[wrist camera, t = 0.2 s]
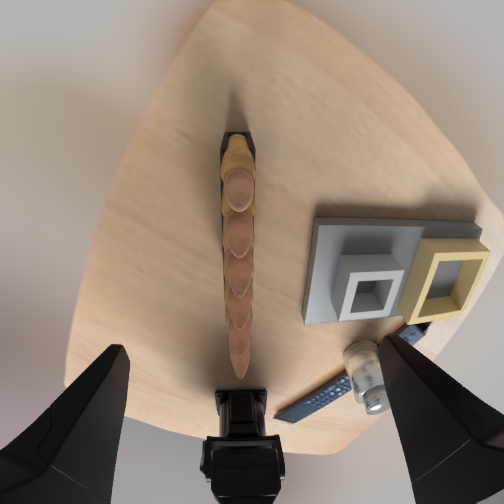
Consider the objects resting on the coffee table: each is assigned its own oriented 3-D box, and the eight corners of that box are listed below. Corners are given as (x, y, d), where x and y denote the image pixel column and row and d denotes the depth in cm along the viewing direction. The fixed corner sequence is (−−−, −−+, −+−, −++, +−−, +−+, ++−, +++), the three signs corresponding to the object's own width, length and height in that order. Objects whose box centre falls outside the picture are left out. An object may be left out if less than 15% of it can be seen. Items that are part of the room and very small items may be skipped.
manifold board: (445, 299, 29) (462, 321, 25) (301, 313, 28) (309, 344, 24) (474, 222, 24) (497, 241, 20) (314, 217, 23) (328, 241, 19)
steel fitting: (370, 361, 33) (390, 413, 26) (338, 366, 33) (355, 421, 26) (380, 337, 31) (406, 392, 24) (346, 342, 30) (368, 400, 23)
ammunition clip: (223, 132, 19) (209, 179, 9) (250, 132, 19) (270, 179, 9) (226, 264, 24) (223, 388, 14) (248, 264, 24) (258, 387, 14)
